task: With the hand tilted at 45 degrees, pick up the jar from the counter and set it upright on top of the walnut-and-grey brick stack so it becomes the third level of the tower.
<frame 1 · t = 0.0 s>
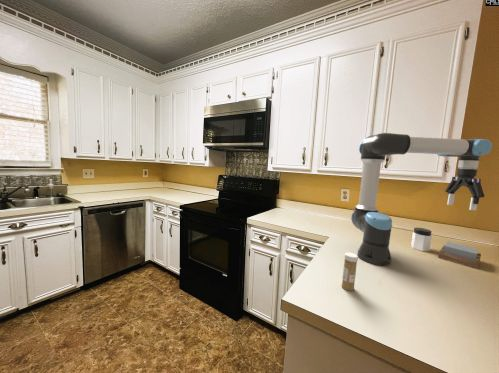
hand: (460, 207, 116), 28 cm above the countertop, tool pointing down, fingers open, 13 cm apart
sprinkles bottle: (347, 288, 82), on the countertop
jar: (419, 249, 128), on the countertop
walnut base brick: (458, 259, 115), on the countertop
grey top brick: (459, 253, 115), resting on walnut base brick
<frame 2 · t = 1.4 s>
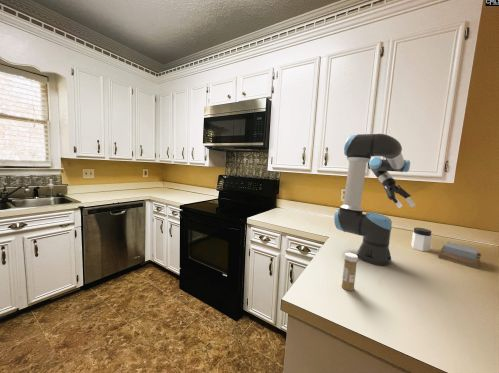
hand: (407, 206, 134), 24 cm above the countertop, tool tilted 45°, fingers open, 13 cm apart
nothing on the countertop moved.
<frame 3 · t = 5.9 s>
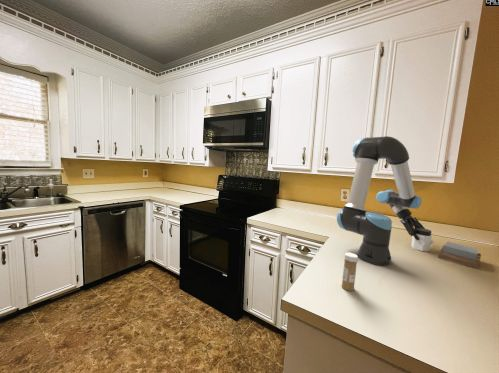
hand: (427, 244, 124), 4 cm above the countertop, tool tilted 45°, fingers closed on jar, 8 cm apart
jar: (419, 249, 128), on the countertop, touching gripper
everything else where it was.
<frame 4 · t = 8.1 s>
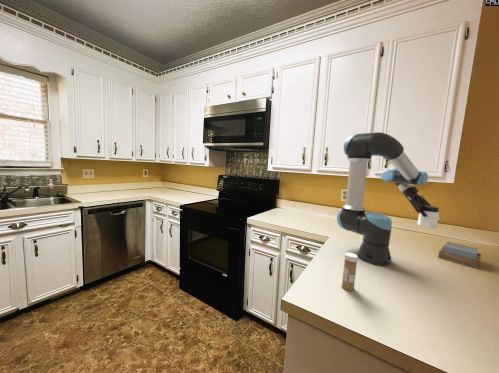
hand: (434, 221, 122), 18 cm above the countertop, tool tilted 45°, fingers closed on jar, 8 cm apart
jar: (426, 226, 126), point 14 cm above the countertop, touching gripper
everything else where it was.
when the fingers open (12 cm above the countertop, at t = 10.5 s): jar drops 1 cm, resting on grey top brick.
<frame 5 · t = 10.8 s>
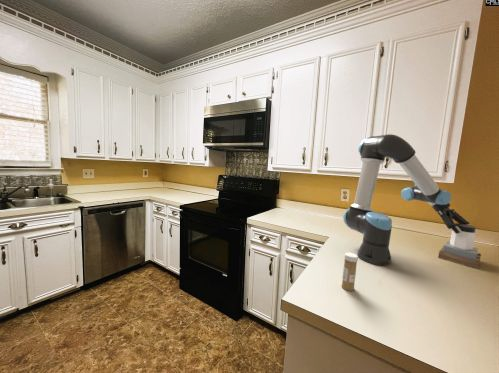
hand: (469, 237, 111), 13 cm above the countertop, tool tilted 45°, fingers open, 11 cm apart
jar: (460, 247, 114), point 7 cm above the countertop, touching grey top brick
everything else where it was.
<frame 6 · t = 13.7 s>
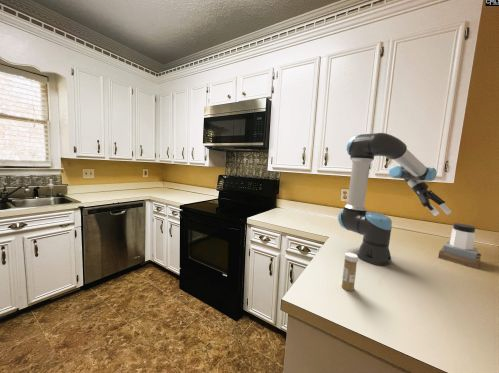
hand: (443, 214, 121), 23 cm above the countertop, tool tilted 45°, fingers open, 13 cm apart
nothing on the countertop moved.
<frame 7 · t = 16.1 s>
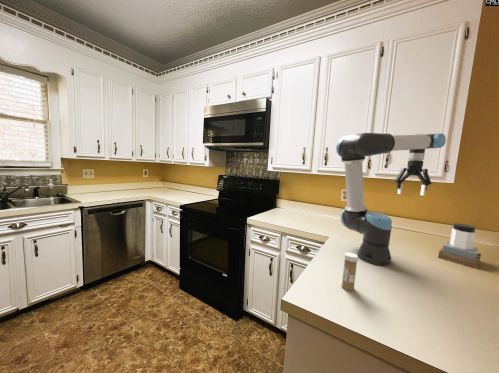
hand: (410, 194, 132), 32 cm above the countertop, tool pointing down, fingers open, 13 cm apart
nothing on the countertop moved.
at the end: jar 0.1 cm off-centre on the walnut base brick, point 6.8 cm above the walnut base brick's base; jar tilted 0°; the gripper is holding nothing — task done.
